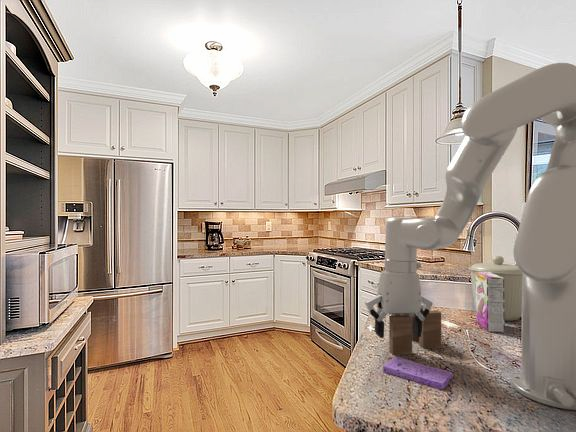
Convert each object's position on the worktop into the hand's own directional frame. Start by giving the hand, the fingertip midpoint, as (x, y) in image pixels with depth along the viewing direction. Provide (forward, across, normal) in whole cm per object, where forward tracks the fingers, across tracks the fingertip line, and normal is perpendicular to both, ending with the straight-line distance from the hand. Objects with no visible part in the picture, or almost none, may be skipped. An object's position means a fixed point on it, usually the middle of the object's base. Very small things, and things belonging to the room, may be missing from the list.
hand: (398, 335), depth 87 cm
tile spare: (+4, 0, +1) cm, 4 cm away
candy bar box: (+4, -38, -16) cm, 42 cm away
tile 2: (+4, -10, -3) cm, 11 cm away
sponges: (+5, +2, +13) cm, 14 cm away
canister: (+4, -49, -26) cm, 56 cm away
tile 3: (+4, -10, -8) cm, 14 cm away
